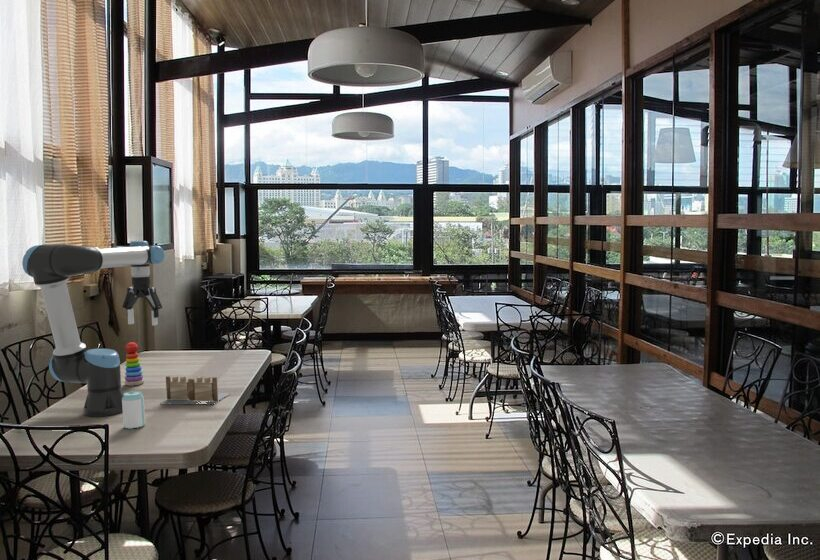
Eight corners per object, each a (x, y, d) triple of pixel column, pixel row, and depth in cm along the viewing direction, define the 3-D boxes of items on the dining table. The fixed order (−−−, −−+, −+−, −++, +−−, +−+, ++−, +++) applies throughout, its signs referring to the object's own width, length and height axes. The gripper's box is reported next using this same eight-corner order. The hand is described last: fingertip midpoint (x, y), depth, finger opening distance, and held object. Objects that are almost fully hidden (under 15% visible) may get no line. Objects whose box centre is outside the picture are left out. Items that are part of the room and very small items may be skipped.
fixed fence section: (216, 402, 264) (215, 378, 263) (188, 401, 266) (186, 377, 265) (219, 400, 266) (217, 376, 265) (191, 400, 268) (189, 376, 267)
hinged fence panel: (187, 399, 266) (186, 377, 265) (166, 399, 267) (164, 377, 266) (189, 398, 268) (188, 376, 267) (168, 398, 269) (167, 376, 268)
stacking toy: (147, 381, 301) (145, 340, 299) (138, 386, 293) (136, 344, 291) (130, 381, 302) (128, 340, 300) (121, 386, 294) (118, 344, 292)
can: (119, 429, 232) (117, 395, 231) (131, 423, 239) (129, 390, 238) (137, 430, 231) (135, 396, 230) (149, 423, 238) (147, 390, 237)
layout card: (212, 405, 260) (212, 403, 260) (160, 404, 263) (160, 402, 263) (230, 394, 276) (230, 393, 276) (180, 393, 279) (180, 392, 279)
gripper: (169, 276, 291) (171, 324, 293) (125, 275, 301) (127, 322, 302) (156, 277, 284) (158, 326, 286) (112, 276, 294) (114, 324, 296)
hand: (143, 324), depth 294 cm, fingers open, 13 cm apart
